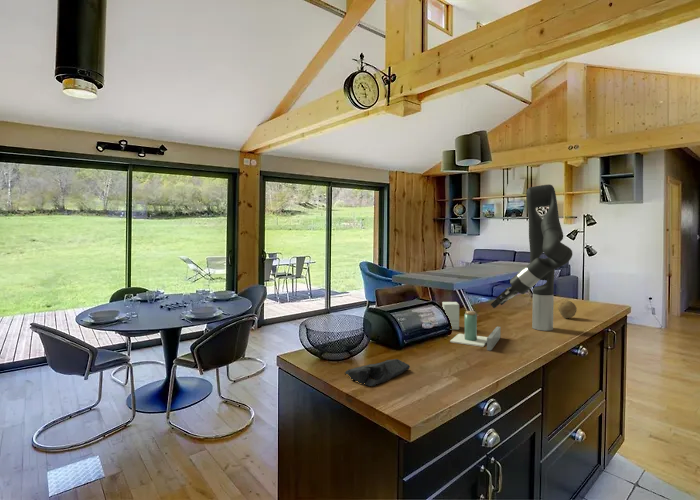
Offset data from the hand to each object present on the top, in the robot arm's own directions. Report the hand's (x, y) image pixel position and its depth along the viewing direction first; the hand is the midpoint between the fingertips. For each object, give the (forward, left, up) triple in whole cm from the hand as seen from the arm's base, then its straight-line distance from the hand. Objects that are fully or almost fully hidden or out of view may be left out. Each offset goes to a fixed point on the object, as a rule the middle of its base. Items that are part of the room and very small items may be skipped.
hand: (496, 304), depth 163 cm
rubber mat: (-2, -11, -17) cm, 21 cm away
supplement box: (-20, -25, -18) cm, 36 cm away
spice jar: (-2, -11, -17) cm, 20 cm away
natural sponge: (-71, +25, -17) cm, 77 cm away
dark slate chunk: (+54, -29, -18) cm, 64 cm away
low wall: (-2, -1, -17) cm, 17 cm away
